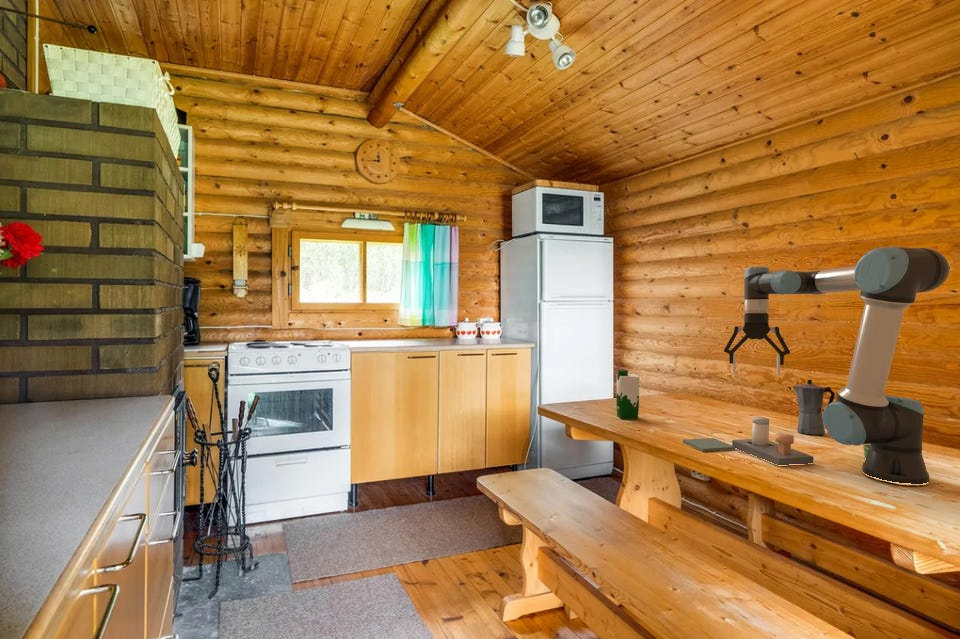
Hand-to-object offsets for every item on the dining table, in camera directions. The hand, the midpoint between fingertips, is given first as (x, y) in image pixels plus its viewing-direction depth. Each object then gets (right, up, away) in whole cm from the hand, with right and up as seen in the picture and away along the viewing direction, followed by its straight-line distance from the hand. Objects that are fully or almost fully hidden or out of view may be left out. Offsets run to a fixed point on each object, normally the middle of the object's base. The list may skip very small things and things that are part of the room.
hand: (755, 374), depth 191 cm
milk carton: (-33, -23, +44) cm, 59 cm away
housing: (-1, -25, -12) cm, 28 cm away
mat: (-17, -25, -1) cm, 30 cm away
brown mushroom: (0, -23, -18) cm, 30 cm away
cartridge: (-2, -25, -7) cm, 26 cm away
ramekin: (+29, -26, -18) cm, 43 cm away
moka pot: (+30, -24, +17) cm, 42 cm away
